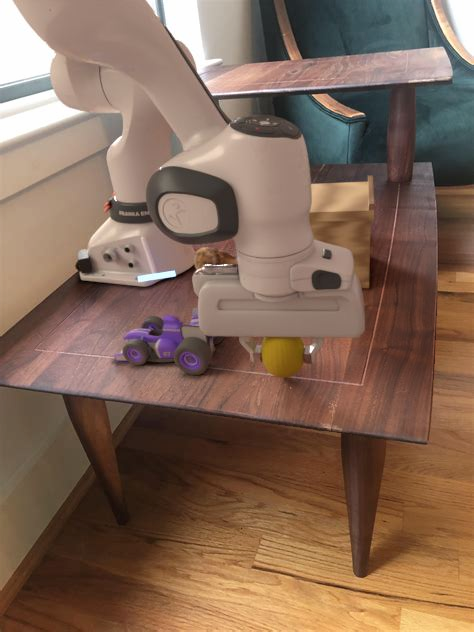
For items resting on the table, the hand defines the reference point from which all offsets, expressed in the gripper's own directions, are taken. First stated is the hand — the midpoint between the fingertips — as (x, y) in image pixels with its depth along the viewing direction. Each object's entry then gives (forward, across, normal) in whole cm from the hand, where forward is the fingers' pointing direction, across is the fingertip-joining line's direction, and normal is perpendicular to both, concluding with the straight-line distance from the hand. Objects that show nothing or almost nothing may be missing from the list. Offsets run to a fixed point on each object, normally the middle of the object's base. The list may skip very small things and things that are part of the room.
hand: (284, 360), depth 70 cm
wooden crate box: (+3, +4, +30) cm, 30 cm away
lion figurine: (+3, -10, +22) cm, 24 cm away
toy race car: (+3, -17, +5) cm, 18 cm away
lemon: (+3, 0, 0) cm, 3 cm away
